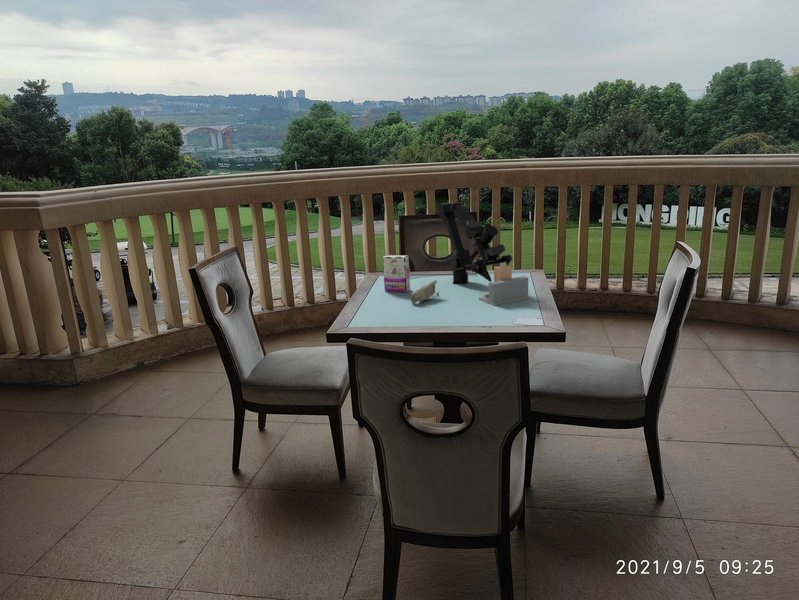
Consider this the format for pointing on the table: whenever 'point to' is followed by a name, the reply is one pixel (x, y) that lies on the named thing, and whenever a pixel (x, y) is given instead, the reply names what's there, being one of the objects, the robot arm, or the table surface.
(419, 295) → the decorative bird
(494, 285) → the wall board
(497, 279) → the tan tall block
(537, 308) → the table surface
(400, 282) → the candy bar box
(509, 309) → the table surface
